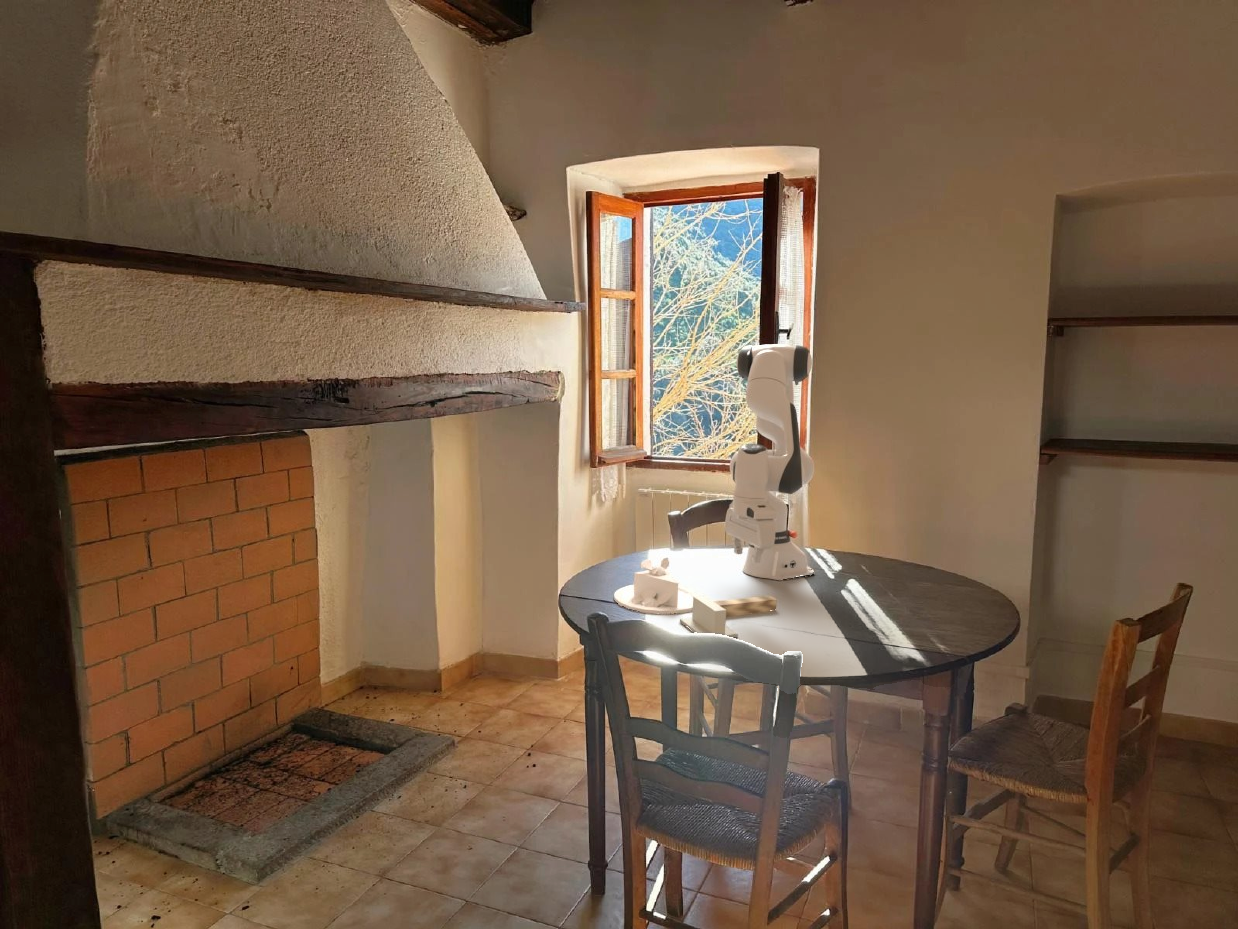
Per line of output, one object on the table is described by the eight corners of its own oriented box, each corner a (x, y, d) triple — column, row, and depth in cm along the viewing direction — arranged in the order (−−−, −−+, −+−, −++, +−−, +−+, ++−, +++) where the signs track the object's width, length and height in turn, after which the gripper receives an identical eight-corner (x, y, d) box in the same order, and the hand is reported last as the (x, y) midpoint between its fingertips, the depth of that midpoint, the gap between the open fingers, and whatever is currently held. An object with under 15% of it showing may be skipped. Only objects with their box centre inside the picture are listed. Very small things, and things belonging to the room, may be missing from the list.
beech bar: (769, 608, 226) (769, 595, 226) (776, 612, 223) (776, 599, 223) (711, 614, 220) (711, 601, 219) (717, 618, 216) (718, 605, 216)
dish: (597, 594, 234) (598, 555, 232) (670, 583, 246) (672, 546, 245) (644, 620, 213) (645, 578, 211) (721, 607, 226) (723, 567, 224)
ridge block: (711, 619, 214) (712, 593, 213) (737, 637, 202) (739, 610, 201) (679, 622, 211) (680, 596, 210) (704, 641, 198) (706, 613, 197)
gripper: (720, 500, 225) (717, 549, 227) (759, 514, 207) (756, 568, 208) (740, 499, 228) (738, 548, 230) (780, 513, 209) (777, 566, 211)
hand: (747, 557), depth 219 cm, fingers open, 8 cm apart
